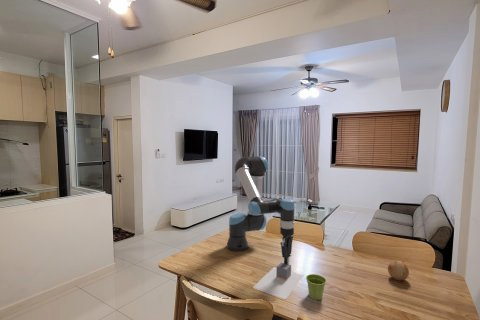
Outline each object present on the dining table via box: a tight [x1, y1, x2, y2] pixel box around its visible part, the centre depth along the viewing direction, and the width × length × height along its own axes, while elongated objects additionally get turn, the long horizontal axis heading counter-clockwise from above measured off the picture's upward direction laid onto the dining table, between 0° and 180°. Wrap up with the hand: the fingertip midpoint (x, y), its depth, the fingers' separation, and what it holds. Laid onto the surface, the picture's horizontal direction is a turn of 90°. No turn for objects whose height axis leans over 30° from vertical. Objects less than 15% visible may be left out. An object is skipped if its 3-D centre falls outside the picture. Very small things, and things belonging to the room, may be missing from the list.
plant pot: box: [305, 273, 327, 301], centre depth 121 cm, size 9×9×9 cm
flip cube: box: [276, 262, 292, 280], centre depth 139 cm, size 6×6×6 cm
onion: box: [387, 259, 410, 281], centre depth 137 cm, size 10×10×10 cm
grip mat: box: [252, 266, 304, 300], centre depth 134 cm, size 18×26×1 cm
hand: (286, 267), depth 142 cm, fingers closed
